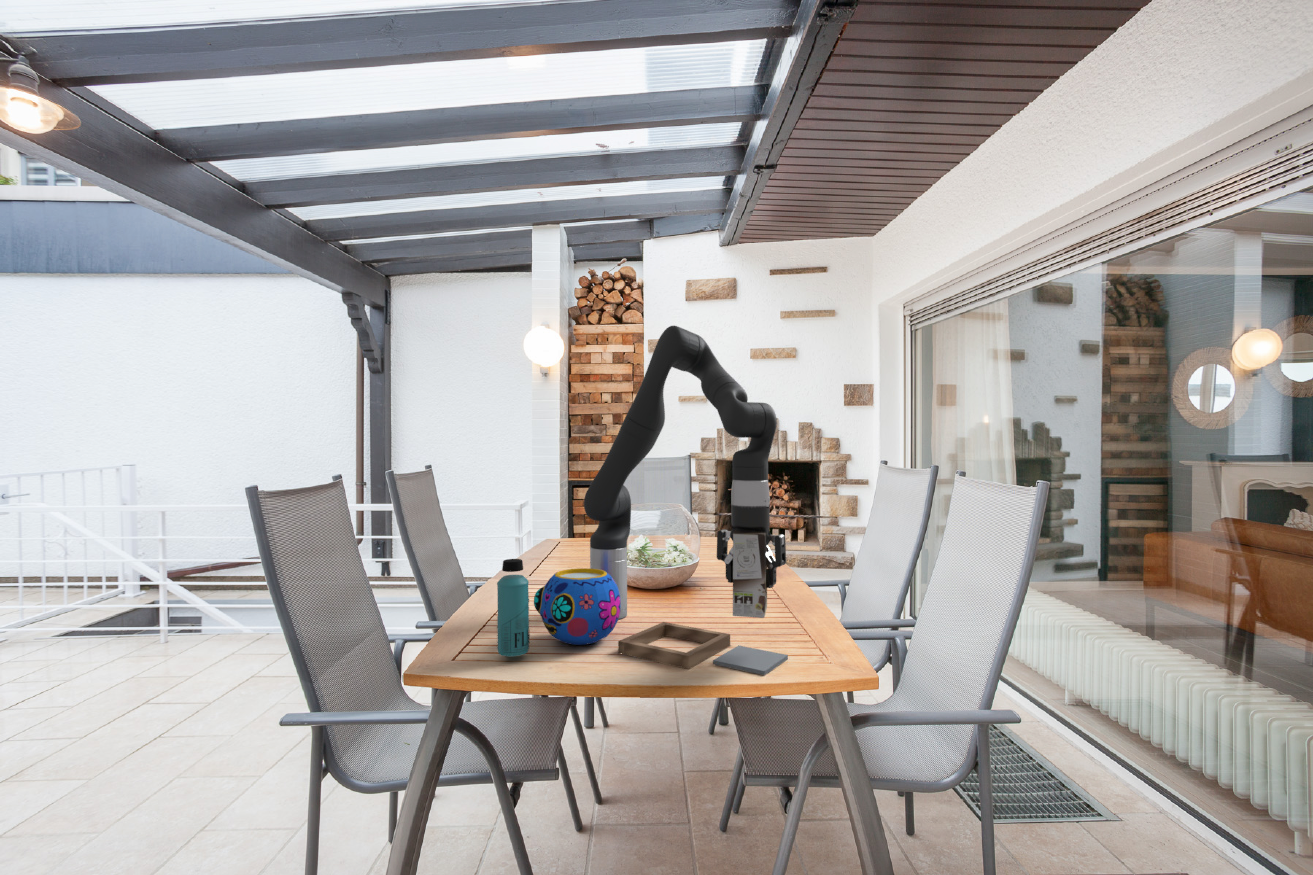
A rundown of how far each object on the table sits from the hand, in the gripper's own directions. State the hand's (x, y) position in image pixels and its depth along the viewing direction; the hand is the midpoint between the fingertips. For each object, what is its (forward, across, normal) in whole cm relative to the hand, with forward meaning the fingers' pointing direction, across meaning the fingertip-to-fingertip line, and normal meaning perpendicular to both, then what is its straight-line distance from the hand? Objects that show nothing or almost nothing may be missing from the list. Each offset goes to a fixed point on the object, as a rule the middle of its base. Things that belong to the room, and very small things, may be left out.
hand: (750, 584), depth 130 cm
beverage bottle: (+15, -40, -25) cm, 50 cm away
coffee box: (+6, 0, 0) cm, 6 cm away
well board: (+15, -16, -2) cm, 23 cm away
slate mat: (+15, 0, 0) cm, 15 cm away
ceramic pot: (+15, -36, -9) cm, 41 cm away
